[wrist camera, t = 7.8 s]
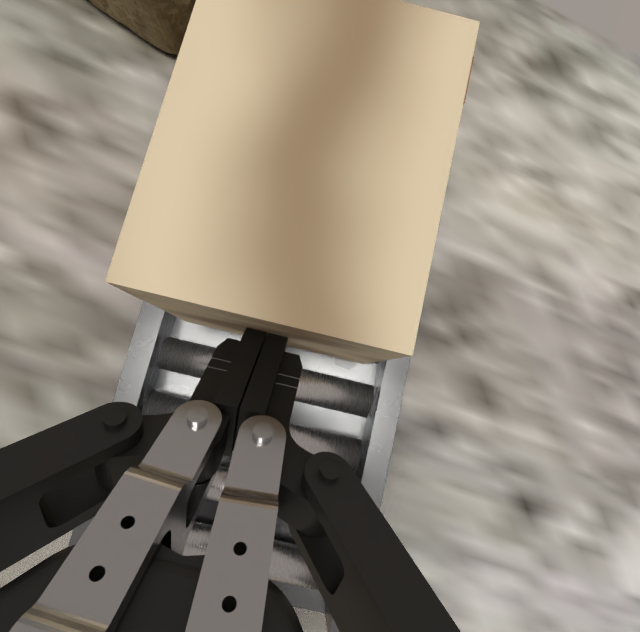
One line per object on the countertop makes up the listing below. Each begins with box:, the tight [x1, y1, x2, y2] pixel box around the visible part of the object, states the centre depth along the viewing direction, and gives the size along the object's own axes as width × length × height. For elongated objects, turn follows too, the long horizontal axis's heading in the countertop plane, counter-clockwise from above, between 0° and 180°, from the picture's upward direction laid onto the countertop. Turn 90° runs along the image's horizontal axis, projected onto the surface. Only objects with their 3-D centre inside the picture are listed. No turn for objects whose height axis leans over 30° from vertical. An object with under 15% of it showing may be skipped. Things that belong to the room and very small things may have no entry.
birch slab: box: [105, 0, 480, 364], centre depth 15 cm, size 8×10×8 cm
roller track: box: [68, 57, 474, 632], centre depth 18 cm, size 12×24×7 cm, turn 167°
